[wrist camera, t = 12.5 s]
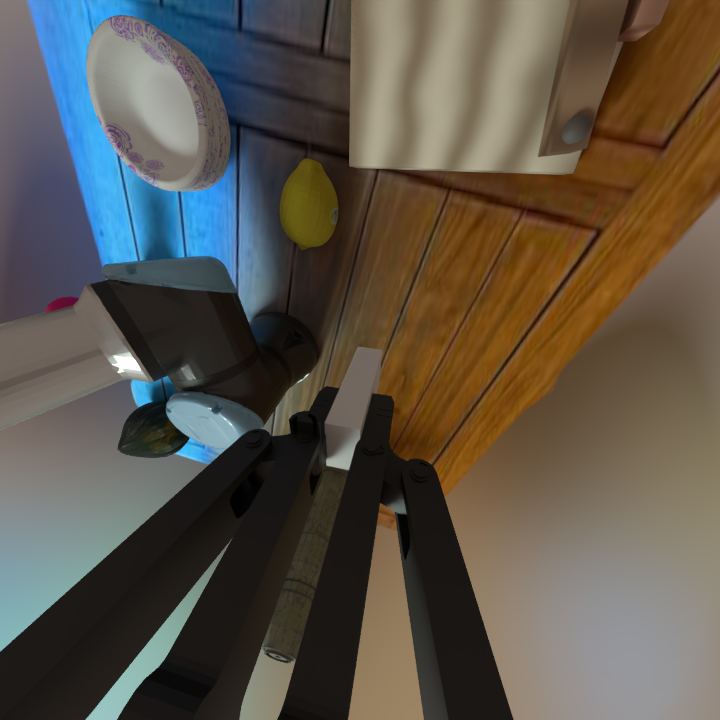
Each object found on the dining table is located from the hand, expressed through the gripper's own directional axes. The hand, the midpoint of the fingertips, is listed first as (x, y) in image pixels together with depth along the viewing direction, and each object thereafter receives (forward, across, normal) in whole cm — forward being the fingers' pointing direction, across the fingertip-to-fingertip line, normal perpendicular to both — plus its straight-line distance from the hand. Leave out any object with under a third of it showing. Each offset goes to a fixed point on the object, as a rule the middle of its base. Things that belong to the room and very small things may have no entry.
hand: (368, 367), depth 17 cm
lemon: (+30, -13, +7) cm, 33 cm away
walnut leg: (+27, +14, +21) cm, 37 cm away
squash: (+30, -57, -45) cm, 78 cm away
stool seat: (+29, +5, +20) cm, 36 cm away
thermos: (+30, -11, -56) cm, 64 cm away
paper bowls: (+30, -31, +16) cm, 46 cm away
